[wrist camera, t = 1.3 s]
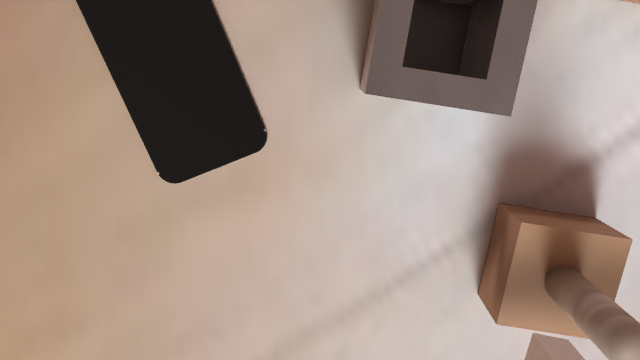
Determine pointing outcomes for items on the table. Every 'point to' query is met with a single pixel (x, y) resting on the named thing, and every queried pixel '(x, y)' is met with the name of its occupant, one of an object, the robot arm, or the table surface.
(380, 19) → the grey hollow square block
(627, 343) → the wooden peg stand
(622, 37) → the table surface
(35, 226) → the table surface
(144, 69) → the smartphone
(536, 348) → the robot arm
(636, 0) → the block
